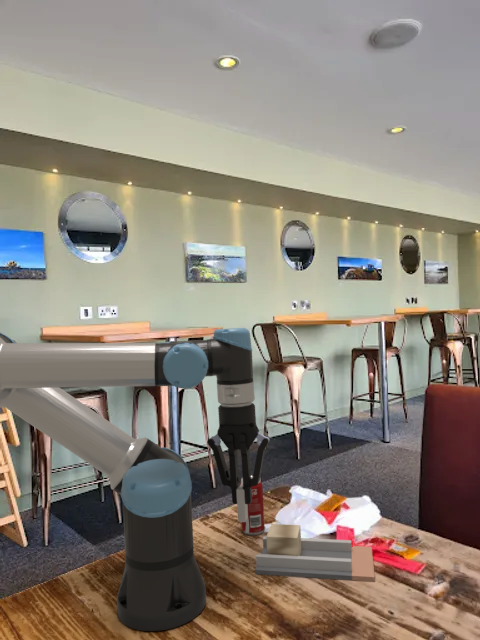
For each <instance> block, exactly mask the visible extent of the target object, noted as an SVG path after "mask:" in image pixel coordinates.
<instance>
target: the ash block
mask: <svg viewBox="0 0 480 640" xmlns="http://www.w3.org/2000/svg"><path fill="white" fill-rule="evenodd" d="M301 532H302V530H301V525H300V524H282V523H281V524H280V523H279V524H278V523H276V524H275V523H271V524H270V526H269V529H268V532H267V534H266V537H267V554H271V555H290V556H300V555H301V538H302V536H301V535H302V534H301Z"/></svg>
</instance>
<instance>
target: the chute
mask: <svg viewBox="0 0 480 640" xmlns="http://www.w3.org/2000/svg"><path fill="white" fill-rule="evenodd" d="M351 546H353V547H352V548H351ZM255 565H256V566H255V569H254V572H255V573H254V575H264V576H276V577H277V576H281V577H292V578H293V577H296V578H312V579H313V578H314V579H326V580H328V579H329V580H345V581H361V582H372V583H373V582H375V581H376V579H375V568H374V566H375V565H374V558H373V547H372V546H365V545H364V546H363V545H361V546H360V545H359V546H357V545H352V540H350V539H329V538H327V539H326V538H307V537H305V538H304V537H301V555H300V556H290V555H271V554H267V535H265V536H263V538H262V550H261V552H260V553H256V555H255Z"/></svg>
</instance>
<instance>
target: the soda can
mask: <svg viewBox="0 0 480 640" xmlns="http://www.w3.org/2000/svg"><path fill="white" fill-rule="evenodd" d="M252 478H253V475H251V479H252ZM261 479H262V478H261V477H260V481H259V483H258V484H257V486H252V487H251V492H252V500H251V503H250V504H247V506H248V518H247V520H246V522H241V531H242V532H243V533H244V534H245V535H247V536H257V535H261V534H263V532H264V531H265V529H266V528H265V527H266V526H265V508H264V492H263V491H264V488H263V482H262V481H261ZM239 485H243V477H241V479H240V482H239Z"/></svg>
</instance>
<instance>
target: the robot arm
mask: <svg viewBox="0 0 480 640" xmlns="http://www.w3.org/2000/svg"><path fill="white" fill-rule="evenodd" d="M212 337H213V338H209V339H197V340H196V339H195V340H193V339H192V340H176V341H175V340H171V341H166V342H165V341H164V342H158V343H157V342H103V343H102V342H86V343H85V342H67V343H66V342H64V343H63V342H55V343H54V342H47V343H46V342H42V343H41V342H35V343H34V342H26V343H25V342H22V343H21V342H19V343H18V342H15V341H14V340H13V339H12V338H11V337H9V336H8V335H7V334H4V333H2V332H0V409H1V408H5V409H7V410H9V411H10V412H12V413H13V414H14V415H16V416H18V417H19V418H20V419H21V420H23V421H25V422H26V423H28V424H29V425H31V426H32V427H34V428H35V429H37V430H38V431H40V432H41V433H42V434H44V435H46V436H47V437H49V438H50V439H52V440H53V441H54V442H56V443H58V444H59V445H61V446H62V447H64V448H65V449H67V450H68V452H71V453H73V455H75V456H77V457H78V458H80V459H81V460H82V461H84V462H86V463H88V464H89V465H90V466H92V467H93V468H95V469H96V470H97V471H99V472H101V473H102V474H104V475H105V476H106V477H108V479H109V484H110V489H111V490H113V491H114V492H116V493H117V494H119V495H120V497H121V499H122V510H123V511H122V513H123V533H124V553H125V555H124V556H125V566H124V570H123V573H122V576H121V581H120V585H119V588H118V592H117V596H116V613H117V617H118V619H119V621H120V622H121V623H123V624H124V625H125V626H127V627H128V628H130V629H134V630H138V631H143V632H160V631H167V630H170V629H174V628H178V627H181V626H182V625H185V624H187V623H189V622H190V621H192V620H193V619H196V617H198V616H199V615H200V614H201V613H202V611H203V610H204V609H205V607H206V604H207V590H206V589H207V587H206V583H205V580H204V577H203V576H202V572H201V570H200V568H199V565H198V562H197V560H196V556H195V551H194V550H195V549H194V532H193V531H194V530H193V526H194V525H193V509H192V508H193V506H192V487H193V485H192V484H193V483H192V479H191V476H190V475H191V474H190V473H191V472H190V469H189V468H188V467H189V466H188V464H187V463H186V461H185V460H184V458H183V457H182V456H181V455H180V454H179V453H178V452H176V451H175V450H173V449H171V448H167V447H161V446H160V445H158V444H157V443H155V442H154V441H152V440H151V439H149V438H147V437H143V438H134V437H133V436H131V435H130V434H129V433H127V432H125V431H124V430H122V429H120V428H119V427H118V426H116V425H115V424H113V423H112V422H111V421H109V420H108V419H106V418H104V417H103V416H102V415H100V414H99V413H97V412H96V411H94V410H93V409H92V408H90V407H89V406H87V405H86V404H84V403H83V402H82V401H80V400H78V399H77V398H75V397H74V396H73V395H71V394H70V393H68V392H66V391H65V390H64V389H62V388H99V387H100V388H101V387H102V388H105V387H106V388H107V387H110V388H111V387H115V388H116V387H176V388H178V389H191V388H194V387H196V386H198V385H199V384H201V383H202V382H203V380H204V379H205V377H206V378H207V377H216V389H217V392H216V393H217V402H218V404H219V406H218V407H217V410H218V424H219V427H218V429H217V433H216V434H215V435H214V436H212V435H211V436H210V438H209V439H207V442H206V444H207V445H208V446H209V447H210V449H211V451H212V454H213V457H214V460H215V463H216V467H217V470H218V474H219V477H220V478H219V479H220V481H221V485H222V486H227V487H229V488H230V490H231V502H232V504H233V505H236V506H237V509H236V510H237V521H238V523H242V522H246V520H247V518H248V506H247V504H250V503H251V500H252V492H251V487H252V486H257V484H258V483H259V481H260V478H261V475H262V469H263V463H264V458H265V452H266V447H267V446H268V444H269V443H270V440H271V438H270V436H268V435H264V434H262V433H261V432H260V429H259V428H258V426H257V418H256V415H257V414H256V405H255V403H253V402H254V401H255V399H256V397H255V386H254V385H255V384H254V370H253V368H254V367H253V348H252V342H251V333H250V330H249V329H248V328H245V327H234V328H232V327H230V328H219V329H218V328H217V329H215V330H214V331H213V336H212ZM256 439H257V441H256V445H257V446H258V448H257V451H256V452H257V453H256V458H255V464H254V468H253V474H252V470H251V469H252V468H251V455H250V454H251V453H250V451H251V446H252V445H253V443H254V441H255V440H256ZM221 441H222V442H221ZM222 443H223V444H224V445H225V447H226V448H227V451H228V452H227V455H228V459H229V461H228V462H229V464H228V465H229V468H228V465H227V462H226V458H225V455H224V451H223V448H222V446H221V444H222ZM239 451H240V455H241V468H242V469H241V471H242V473H241V474H242V478H243V485H240V483H241V480H240V477H239V476H240V475H239V457H238V452H239ZM251 476H253V478H252V479H251Z"/></svg>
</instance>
